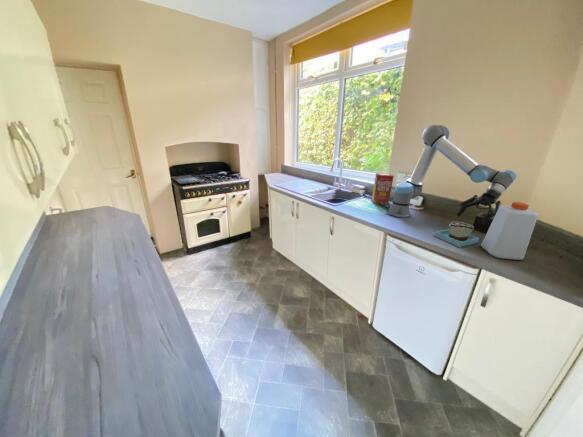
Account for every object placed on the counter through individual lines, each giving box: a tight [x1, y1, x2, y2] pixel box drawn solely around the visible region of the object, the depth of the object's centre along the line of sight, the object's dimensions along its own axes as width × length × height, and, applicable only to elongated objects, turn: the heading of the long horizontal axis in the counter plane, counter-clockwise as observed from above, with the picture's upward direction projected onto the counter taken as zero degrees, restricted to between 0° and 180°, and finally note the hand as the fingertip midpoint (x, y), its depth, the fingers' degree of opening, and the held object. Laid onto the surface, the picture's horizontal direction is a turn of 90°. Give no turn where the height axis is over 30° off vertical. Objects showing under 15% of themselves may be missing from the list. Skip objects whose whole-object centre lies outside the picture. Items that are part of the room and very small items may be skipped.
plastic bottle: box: [481, 201, 539, 261], centre depth 121 cm, size 15×15×28 cm
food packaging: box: [371, 172, 394, 205], centre depth 203 cm, size 13×9×25 cm
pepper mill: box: [472, 199, 495, 233], centre depth 156 cm, size 16×11×18 cm
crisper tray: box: [434, 228, 480, 248], centre depth 140 cm, size 15×16×3 cm
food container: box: [448, 221, 475, 241], centre depth 139 cm, size 12×6×10 cm, turn 71°
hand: (469, 219), depth 139 cm, fingers open, 13 cm apart
